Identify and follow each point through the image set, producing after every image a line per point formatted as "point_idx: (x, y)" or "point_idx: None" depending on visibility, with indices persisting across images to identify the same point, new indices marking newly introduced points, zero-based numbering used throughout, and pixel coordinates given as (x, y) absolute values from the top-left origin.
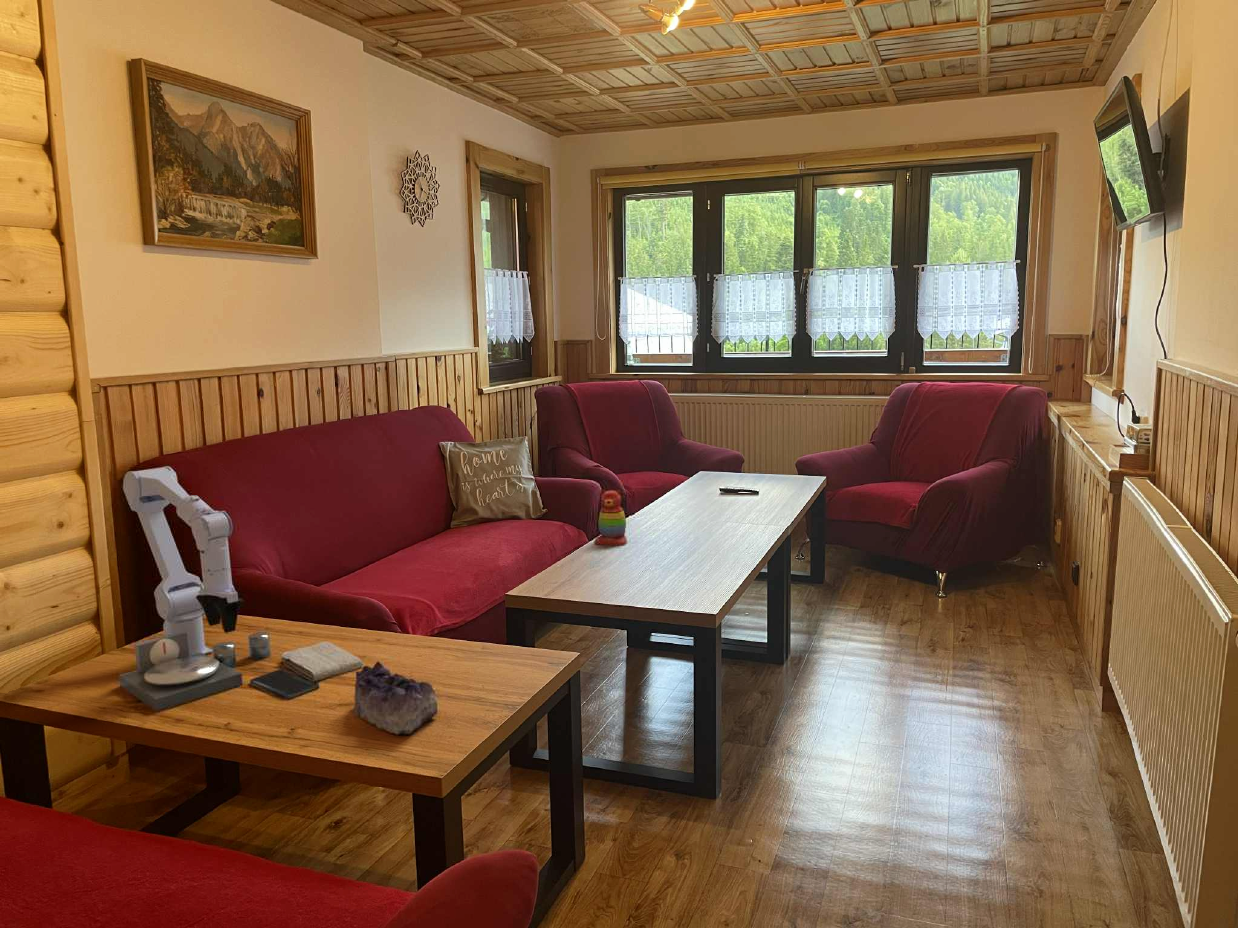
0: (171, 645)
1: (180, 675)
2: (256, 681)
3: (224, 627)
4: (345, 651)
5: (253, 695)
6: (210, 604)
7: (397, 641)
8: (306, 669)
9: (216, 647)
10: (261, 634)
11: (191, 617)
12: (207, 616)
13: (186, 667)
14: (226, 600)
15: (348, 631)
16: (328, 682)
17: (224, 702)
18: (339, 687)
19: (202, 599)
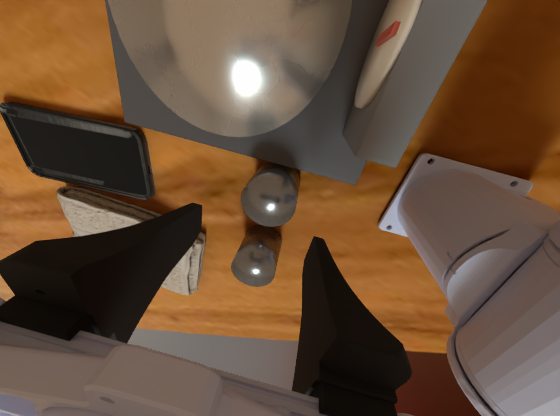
0: (373, 75)
1: None
2: (124, 136)
3: (177, 209)
4: None
5: (68, 84)
6: (314, 316)
7: (151, 317)
8: (77, 199)
9: (268, 182)
10: (251, 275)
11: (458, 269)
12: (318, 257)
13: (221, 26)
14: (10, 311)
15: (236, 332)
16: (56, 192)
17: (62, 10)
18: (24, 183)
19: (329, 335)
